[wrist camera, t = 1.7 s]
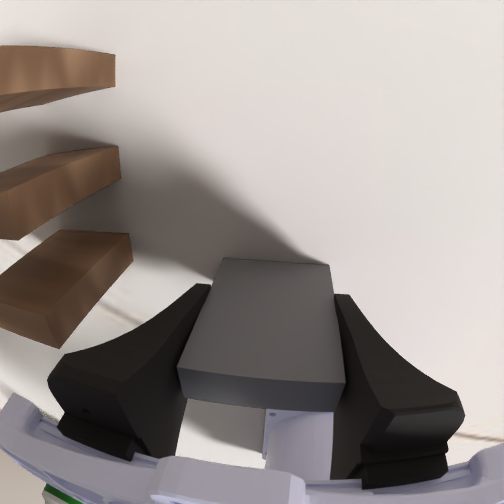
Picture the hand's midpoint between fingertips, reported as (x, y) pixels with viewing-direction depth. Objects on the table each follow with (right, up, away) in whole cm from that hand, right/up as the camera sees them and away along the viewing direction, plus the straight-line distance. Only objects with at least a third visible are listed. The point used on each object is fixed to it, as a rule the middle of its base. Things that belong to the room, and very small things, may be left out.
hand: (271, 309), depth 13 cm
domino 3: (-10, +3, +3) cm, 10 cm away
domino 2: (-10, +7, +1) cm, 12 cm away
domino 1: (-10, +11, -1) cm, 14 cm away
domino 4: (0, +1, +2) cm, 3 cm away
